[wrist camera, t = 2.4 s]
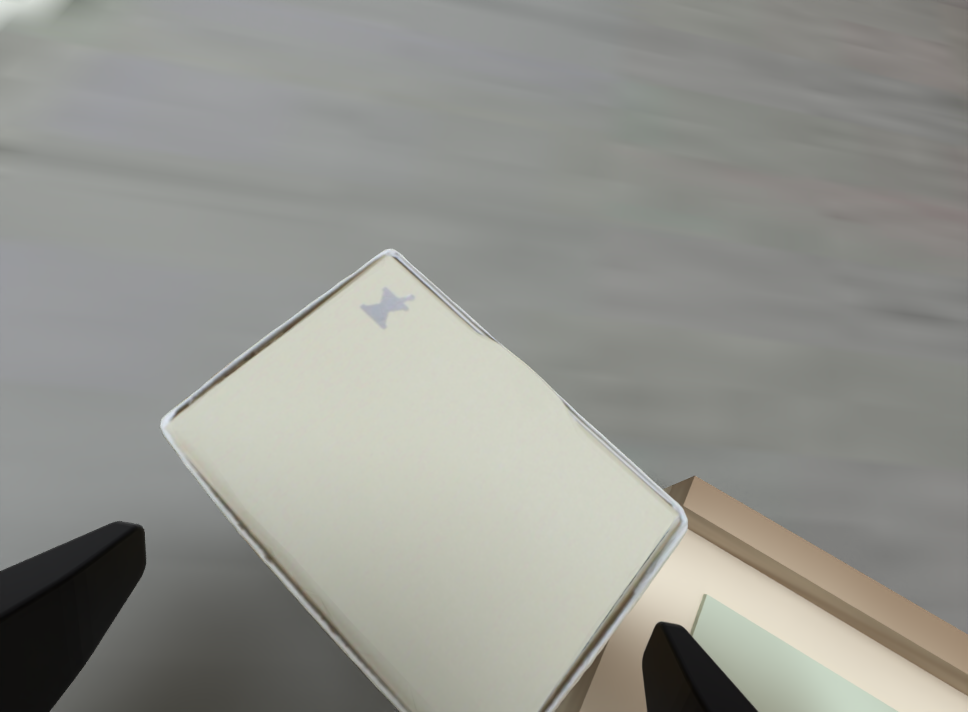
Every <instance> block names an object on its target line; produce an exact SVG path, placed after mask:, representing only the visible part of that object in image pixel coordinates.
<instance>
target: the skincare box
mask: <svg viewBox="0 0 968 712" xmlns="http://www.w3.org/2000/svg"><path fill="white" fill-rule="evenodd" d="M160 429H161V432H162V434H163V436H164V438H165V439H166V440H167V442H168V443H169V444H170V445H171V447H172V448H173V449H174V451H175V452H176V453H177V455H178V456H179V457H180V459H181V460H182V462H183V463H184V465H185V466H186V467H187V468H188V470H189V471H190V472H191V473H192V475H193V476H194V477H195V479H196V480H197V481H198V482H199V484H200V485H201V487H202V488H203V489H204V491H205V492H206V493H207V495H208V496H209V497H210V498H211V499H212V500H213V502H214V503H215V504H216V505H217V507H218V508H219V509H220V511H221V512H222V513H223V515H224V516H225V517H226V518H227V519H228V520H229V522H230V523H231V524H232V525H233V526H234V528H235V529H236V530H237V532H238V533H239V534H240V535H241V536H242V537H243V539H244V540H245V541H246V542H247V543H248V544H249V545H250V546H251V548H252V549H253V550H254V551H255V552H256V554H257V555H258V556H259V557H260V558H261V559H262V561H263V562H264V563H265V564H266V565H267V566H268V568H269V569H270V570H271V571H272V572H273V573H274V574H275V575H276V576H277V577H278V578H279V579H280V581H281V582H282V583H283V584H284V586H285V587H286V588H287V589H288V590H289V592H290V593H291V594H292V595H293V596H294V597H295V598H296V599H297V600H298V601H299V602H300V604H301V605H302V606H303V607H304V608H305V609H306V610H307V611H308V613H309V614H310V615H311V616H312V617H313V618H314V619H315V621H316V622H317V623H318V624H319V625H320V626H321V627H322V628H323V630H324V631H325V632H326V633H327V634H328V635H329V636H330V637H331V638H332V640H333V641H334V642H335V643H336V644H337V645H338V646H339V647H340V648H341V650H342V651H343V652H344V653H345V654H346V655H347V656H348V657H349V658H350V659H351V660H352V661H353V663H354V664H355V665H356V666H357V667H358V668H359V669H360V670H361V671H362V672H363V673H364V674H365V675H366V677H367V678H368V679H369V680H370V681H371V682H372V683H373V684H374V685H375V686H376V687H377V688H378V690H379V691H380V692H381V693H382V694H383V695H384V696H385V697H386V698H387V699H388V700H389V701H390V702H391V703H392V704H393V705H394V706H395V707H396V708H397V709H398V710H399V711H400V712H555V710H556V709H557V708H558V706H559V705H560V704H561V702H562V701H563V700H564V698H565V697H566V696H567V694H568V693H569V692H570V691H571V689H572V688H573V687H574V686H575V685H576V683H577V682H578V681H579V680H580V678H581V677H582V675H583V674H584V672H585V671H586V670H587V669H588V668H589V667H590V666H591V664H592V663H593V661H594V660H595V658H596V657H597V655H598V654H599V653H600V652H601V650H602V649H603V648H604V646H605V645H606V643H607V642H608V640H609V639H610V637H611V636H612V635H613V634H614V632H615V631H616V630H617V629H618V627H619V626H620V624H621V623H622V621H623V620H624V619H625V617H626V616H627V615H628V614H629V612H630V611H631V610H632V609H633V607H634V606H635V605H636V603H637V602H638V601H639V599H640V598H641V597H642V595H643V594H644V592H645V591H646V590H647V588H648V587H649V585H650V584H651V582H652V581H653V580H654V578H655V577H656V575H657V574H658V572H659V571H660V570H661V568H662V567H663V566H664V564H665V563H666V561H667V560H668V559H669V557H670V556H671V554H672V553H673V552H674V550H675V549H676V548H677V546H678V545H679V543H680V542H681V540H682V539H683V537H684V535H685V534H686V532H687V529H688V519H687V517H686V514H685V512H684V509H683V508H682V507H681V506H680V505H679V503H678V502H676V501H675V500H674V499H673V498H672V497H670V496H669V495H668V494H667V493H666V492H665V491H664V490H663V489H662V488H661V487H659V486H658V485H657V484H656V483H655V482H654V481H653V480H652V479H651V478H650V477H649V476H647V475H646V474H645V473H644V472H643V471H642V470H641V469H640V468H639V467H638V466H637V465H635V464H634V463H633V462H632V461H631V460H630V459H629V458H628V457H627V456H626V455H624V454H623V453H622V452H621V451H620V450H619V449H618V448H617V447H616V446H614V445H613V444H612V443H611V442H610V441H609V440H608V439H607V438H605V437H604V436H603V435H602V434H601V433H600V432H599V431H598V430H597V429H596V428H594V427H593V426H592V425H591V424H590V423H589V422H588V421H587V420H586V419H584V418H583V417H582V416H581V415H580V414H579V413H577V412H576V411H575V410H574V409H573V408H572V407H571V406H570V405H569V404H568V403H567V402H566V401H565V400H564V399H563V398H562V397H561V396H560V395H559V394H558V393H557V392H556V391H555V390H553V389H552V388H551V387H550V386H549V385H548V384H547V383H546V382H545V381H544V380H543V379H542V378H541V377H540V376H539V375H538V374H537V373H535V372H534V371H533V370H532V369H531V368H530V367H529V366H528V365H527V364H525V363H524V362H523V361H522V360H520V359H519V358H518V357H517V356H515V355H514V354H513V353H512V352H510V351H509V350H508V349H507V348H505V347H504V346H503V345H502V344H501V343H499V342H498V341H497V340H496V339H495V338H493V337H492V336H491V335H490V334H489V333H488V332H487V331H486V330H485V329H484V328H482V327H481V326H480V325H479V324H478V323H477V322H476V321H475V320H474V319H473V318H472V317H470V316H469V315H468V314H467V313H466V312H465V311H464V310H463V309H462V308H460V307H459V306H458V305H457V304H456V303H455V302H453V301H452V300H451V299H450V298H449V297H448V296H447V295H445V294H444V293H443V292H442V291H441V290H440V289H439V288H438V287H437V286H436V285H435V284H433V283H432V282H431V281H430V280H429V279H428V278H427V277H425V276H424V275H423V274H422V273H421V272H420V271H419V270H417V269H416V268H415V267H414V266H413V265H412V264H410V263H409V262H408V261H407V260H406V259H405V258H404V256H403V255H402V254H400V253H399V252H397V251H396V250H394V249H386V250H384V251H382V252H381V253H380V254H378V255H377V256H375V257H374V258H372V259H371V260H370V261H368V262H367V263H366V264H365V265H364V266H362V267H361V268H360V269H358V270H357V271H355V272H354V273H352V274H351V275H349V276H348V277H346V278H345V279H343V280H342V281H340V282H339V283H338V284H337V285H335V286H334V287H333V288H331V289H330V290H329V291H327V292H326V293H324V294H323V295H321V296H320V297H319V298H317V299H316V300H314V301H313V302H311V303H310V304H309V305H307V306H306V307H305V308H303V309H302V310H301V311H299V312H298V313H297V314H296V315H294V316H293V317H292V318H290V319H289V320H287V321H286V322H284V323H283V324H282V325H280V326H279V327H278V328H276V329H275V330H273V331H272V332H270V333H269V334H268V335H266V336H265V337H264V338H262V339H261V340H260V341H258V342H257V343H256V344H254V345H253V346H252V347H250V348H249V349H248V350H246V351H245V352H244V353H243V354H241V355H240V356H239V357H237V358H236V359H234V360H233V361H232V362H230V363H229V364H228V365H227V366H226V367H224V368H223V369H222V370H221V371H219V372H218V373H216V374H215V375H214V376H213V377H212V378H210V379H209V380H208V381H207V382H206V383H205V384H204V385H203V386H202V387H201V388H200V389H198V390H197V391H195V392H194V393H193V394H192V395H190V396H189V397H188V398H186V399H185V400H184V401H182V402H181V403H180V404H178V405H177V406H176V407H174V408H173V409H172V410H171V411H169V412H168V413H167V414H166V415H165V416H164V417H163V418H162V419H161V423H160Z"/></svg>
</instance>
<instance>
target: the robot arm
mask: <svg viewBox="0 0 968 712" xmlns="http://www.w3.org/2000/svg"><path fill="white" fill-rule="evenodd" d="M145 566H146V548H145V532H144V529H143V527H142V526H141V525H139V524H133V523H128V522H122V521H117V522H113V523H110V524H108V525H106V526H103V527H101V528H99V529H97V530H94V531H92V532H90V533H87V534H85V535H83V536H80V537H78V538H76V539H73V540H71V541H69V542H67V543H64V544H62V545H60V546H57V547H55V548H53V549H50V550H48V551H46V552H43V553H41V554H39V555H36V556H34V557H32V558H30V559H27V560H25V561H23V562H20V563H18V564H16V565H13V566H11V567H9V568H6V569H4V570H2V571H0V712H50V710H51V709H52V708H53V706H54V705H55V704H56V702H57V701H58V700H59V699H60V697H61V696H62V695H63V693H64V692H65V691H66V689H67V688H68V687H69V686H70V684H71V683H72V682H73V680H74V679H75V678H76V676H77V675H78V674H79V672H80V671H81V670H82V668H83V667H84V665H85V664H86V662H87V661H88V659H89V658H90V656H91V655H92V654H93V652H94V651H95V649H96V647H97V646H98V644H99V643H100V641H101V640H102V638H103V636H104V635H105V633H106V632H107V630H108V629H109V627H110V625H111V624H112V622H113V621H114V619H115V618H116V616H117V614H118V613H119V611H120V610H121V608H122V607H123V605H124V603H125V602H126V600H127V599H128V597H129V596H130V594H131V592H132V591H133V589H134V588H135V586H136V585H137V583H138V582H139V580H140V578H141V577H142V575H143V572H144V570H145ZM642 673H643V681H644V690H645V698H646V707H647V712H758V710H757V709H756V708H755V707H754V706H753V705H752V704H751V702H750V701H749V700H748V699H747V698H746V697H745V696H744V695H743V693H742V692H741V691H740V690H739V689H738V688H737V687H736V685H735V684H734V683H733V682H732V681H731V680H730V679H729V678H728V676H727V675H726V674H725V673H724V672H723V671H722V670H721V668H720V667H719V666H718V665H717V664H716V663H715V662H714V661H713V659H712V658H711V657H710V656H709V655H708V654H707V653H706V651H705V650H704V649H703V648H702V647H701V646H700V645H699V644H698V642H697V641H696V640H695V639H694V638H693V637H692V636H691V634H690V633H689V632H688V631H687V630H686V629H685V628H684V627H683V626H681V625H679V624H674V623H669V622H663V621H660V622H658V623H657V624H656V625H655V627H654V629H653V631H652V634H651V636H650V639H649V641H648V643H647V646H646V648H645V651H644V653H643V658H642Z"/></svg>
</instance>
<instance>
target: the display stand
mask: <svg viewBox="0 0 968 712" xmlns="http://www.w3.org/2000/svg"><path fill="white" fill-rule="evenodd" d="M663 490H664V491H665V492H666V493H667V494H668V495H669V496H670V497H672V498H673V499H674V500H675V501H676V502H678V503H679V505H680V506H681V507H682V508H683V509H684V512H685V514H686V517H687V519H688V529H687V532H686V534H685V535H684V537H683V539H682V540H681V542H680V543H679V545H678V546H677V548H676V549H675V550H674V552H673V553H672V554H671V556H670V557H669V559H668V560H667V561H666V563H665V564H664V566H663V567H662V568H661V570H660V571H659V572H658V574H657V575H656V577H655V578H654V580H653V581H652V582H651V584H650V585H649V587H648V588H647V590H646V591H645V592H644V594H643V595H642V597H641V598H640V599H639V601H638V602H637V603H636V605H635V606H634V607H633V609H632V610H631V611H630V612H629V614H628V615H627V616H626V617H625V619H624V620H623V621H622V623H621V624H620V626H619V627H618V629H617V630H616V631H615V632H614V634H613V635H612V636H611V637H610V639H609V640H608V642H607V643H606V645H605V646H604V648H603V649H602V650H601V652H600V653H599V654H598V655H597V657H596V658H595V660H594V661H593V663H592V664H591V666H590V667H589V668H588V669H587V670H586V671H585V672H584V674H583V675H582V677H581V678H580V680H579V681H578V682H577V683H576V685H575V686H574V687H573V688H572V689H571V691H570V692H569V693H568V694H567V696H566V697H565V698H564V700H563V701H562V702H561V704H560V705H559V706H558V708H557V709H556V710H555V712H647V707H646V698H645V690H644V681H643V673H642V658H643V653H644V651H645V648H646V646H647V643H648V641H649V639H650V636H651V634H652V631H653V629H654V627H655V625H656V624H657V623H658V622H660V621H663V622H669V623H674V624H679V625H681V626H683V627H684V628H685V629H686V630H687V631H688V632H689V633H690V634H691V636H692V637H693V638H694V639H695V640H696V641H697V642H698V644H699V645H700V646H701V647H702V648H703V649H704V650H705V651H706V653H707V654H708V655H709V656H710V657H711V658H712V659H713V661H714V662H715V663H716V664H717V665H718V666H719V667H720V668H721V670H722V671H723V672H724V673H725V674H726V675H727V676H728V678H729V679H730V680H731V681H732V682H733V683H734V684H735V685H736V687H737V688H738V689H739V690H740V691H741V692H742V693H743V695H744V696H745V697H746V698H747V699H748V700H749V701H750V702H751V704H752V705H753V706H754V707H755V708H756V709H757V710H758V712H968V634H966V633H964V632H962V631H961V630H959V629H957V628H956V627H954V626H952V625H950V624H949V623H947V622H945V621H944V620H942V619H940V618H938V617H937V616H935V615H933V614H932V613H930V612H928V611H926V610H925V609H923V608H921V607H919V606H918V605H916V604H914V603H913V602H911V601H909V600H907V599H906V598H904V597H902V596H901V595H899V594H897V593H895V592H894V591H892V590H890V589H889V588H887V587H885V586H883V585H882V584H880V583H878V582H877V581H875V580H873V579H871V578H870V577H868V576H866V575H865V574H863V573H861V572H859V571H858V570H856V569H854V568H853V567H851V566H849V565H847V564H846V563H844V562H842V561H841V560H839V559H837V558H835V557H834V556H832V555H830V554H828V553H827V552H825V551H823V550H822V549H820V548H818V547H816V546H815V545H813V544H811V543H810V542H808V541H806V540H804V539H803V538H801V537H799V536H798V535H796V534H794V533H792V532H791V531H789V530H787V529H786V528H784V527H782V526H780V525H779V524H777V523H775V522H774V521H772V520H770V519H768V518H767V517H765V516H763V515H762V514H760V513H758V512H756V511H755V510H753V509H751V508H749V507H748V506H746V505H744V504H743V503H741V502H739V501H737V500H736V499H734V498H732V497H731V496H729V495H727V494H725V493H724V492H722V491H720V490H719V489H717V488H715V487H713V486H712V485H710V484H708V483H707V482H705V481H703V480H701V479H700V478H698V477H696V476H693V477H691V478H689V479H686V480H684V481H681V482H679V483H677V484H674V485H672V486H670V487H667V488H665V489H663Z"/></svg>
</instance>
